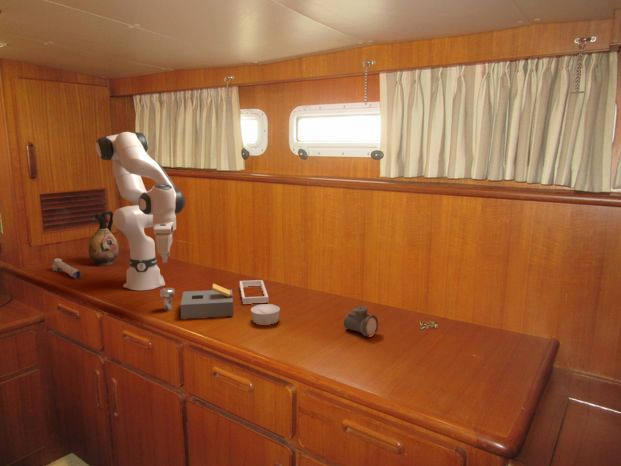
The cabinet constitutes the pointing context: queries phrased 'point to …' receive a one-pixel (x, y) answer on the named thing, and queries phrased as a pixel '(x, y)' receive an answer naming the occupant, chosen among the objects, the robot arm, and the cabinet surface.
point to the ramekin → (265, 314)
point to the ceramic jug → (103, 241)
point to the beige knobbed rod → (65, 268)
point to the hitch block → (205, 304)
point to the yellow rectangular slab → (222, 290)
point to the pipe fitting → (361, 321)
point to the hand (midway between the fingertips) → (166, 259)
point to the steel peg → (167, 297)
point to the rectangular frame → (253, 299)
